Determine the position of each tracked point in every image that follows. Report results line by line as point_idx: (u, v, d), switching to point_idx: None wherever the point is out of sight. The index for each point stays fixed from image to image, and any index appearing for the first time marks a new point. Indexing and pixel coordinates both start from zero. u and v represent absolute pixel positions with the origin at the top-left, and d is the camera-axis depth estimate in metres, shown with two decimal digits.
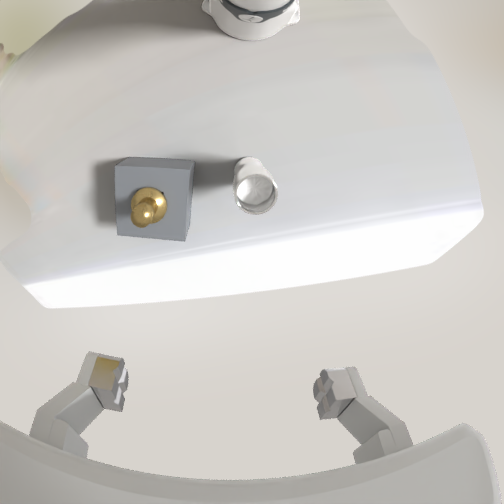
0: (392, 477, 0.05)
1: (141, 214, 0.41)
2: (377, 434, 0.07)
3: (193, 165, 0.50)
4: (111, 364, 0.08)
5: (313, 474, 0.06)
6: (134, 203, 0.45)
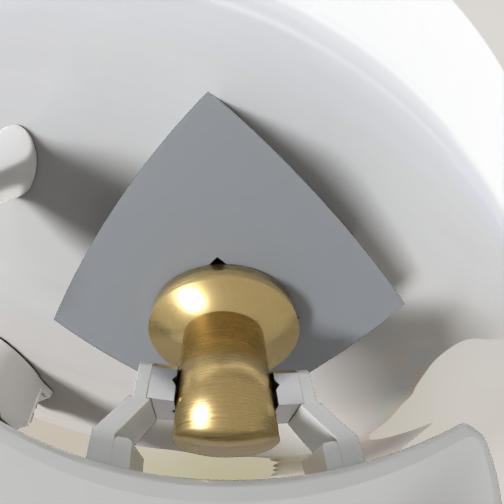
0: (392, 477, 0.05)
1: (211, 447, 0.08)
2: (322, 446, 0.07)
3: None
4: (169, 373, 0.09)
5: (313, 474, 0.06)
6: None
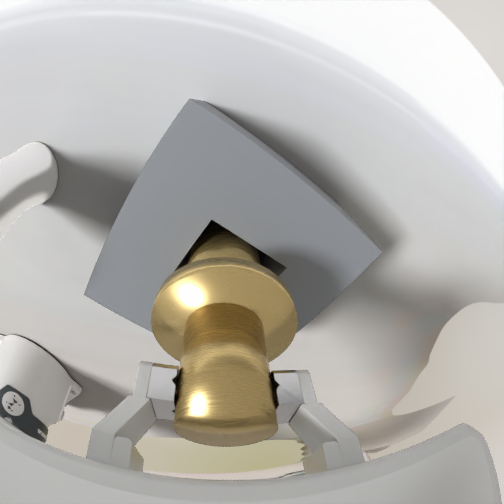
0: (392, 477, 0.05)
1: (212, 435, 0.08)
2: (322, 446, 0.07)
3: None
4: (169, 373, 0.09)
5: (313, 474, 0.06)
6: None
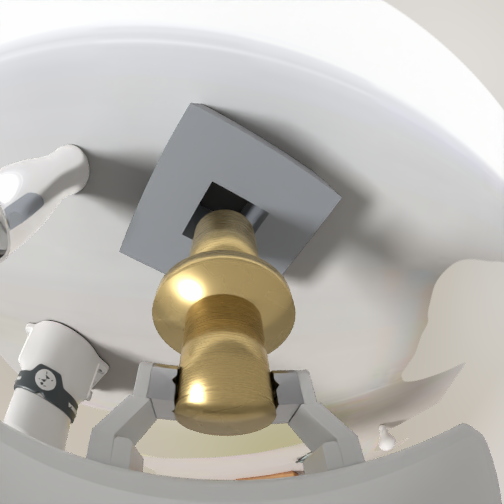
0: (392, 477, 0.05)
1: (213, 423, 0.08)
2: (322, 446, 0.07)
3: None
4: (169, 373, 0.09)
5: (313, 474, 0.06)
6: (265, 344, 0.14)
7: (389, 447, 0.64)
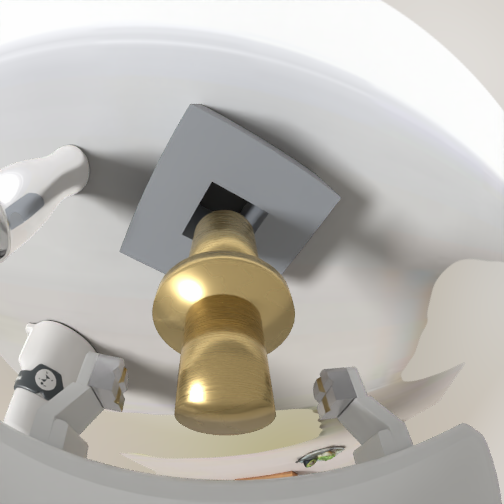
0: (392, 477, 0.05)
1: (213, 423, 0.09)
2: (377, 434, 0.07)
3: None
4: (111, 364, 0.08)
5: (313, 474, 0.06)
6: (265, 344, 0.14)
7: None
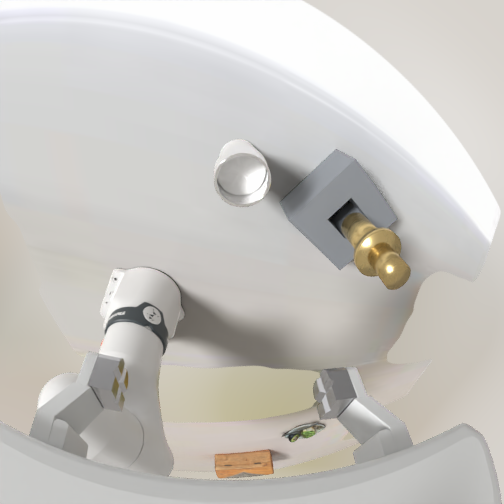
0: (392, 477, 0.05)
1: (393, 279, 0.28)
2: (377, 434, 0.07)
3: (284, 204, 0.46)
4: (111, 364, 0.08)
5: (313, 474, 0.06)
6: None
7: None
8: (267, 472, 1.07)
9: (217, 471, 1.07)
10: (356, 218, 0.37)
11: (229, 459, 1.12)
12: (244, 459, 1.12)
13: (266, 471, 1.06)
